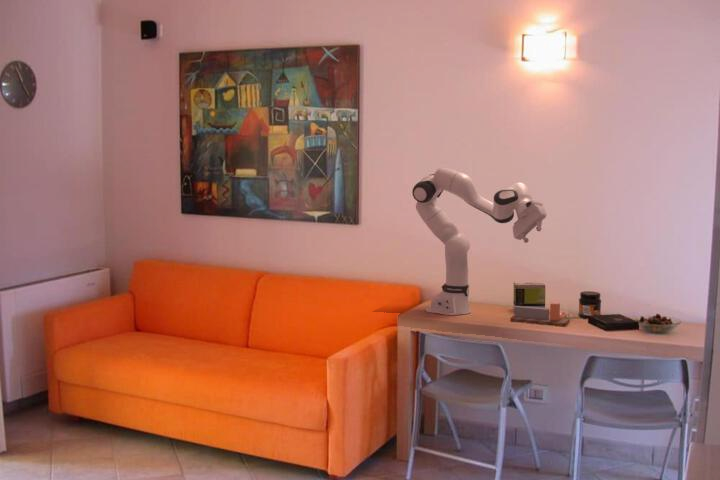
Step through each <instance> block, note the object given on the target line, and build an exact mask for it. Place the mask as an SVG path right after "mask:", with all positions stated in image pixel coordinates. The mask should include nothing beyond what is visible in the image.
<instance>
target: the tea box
mask: <svg viewBox="0 0 720 480" xmlns="http://www.w3.org/2000/svg"><path fill="white" fill-rule="evenodd" d="M512 302H513V310H514V311H515V306H524V307H535V308H546V284H545V283H544V282H543V281H513V301H512Z"/></svg>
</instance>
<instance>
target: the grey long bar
mask: <svg viewBox="0 0 720 480" xmlns="http://www.w3.org/2000/svg"><path fill="white" fill-rule="evenodd" d="M514 315H515V317H521V318H532V319H542V320H548V319H549V317H550V308H546V307H545V308H535V307H524V306H515V310H514Z"/></svg>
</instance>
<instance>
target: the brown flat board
mask: <svg viewBox="0 0 720 480" xmlns="http://www.w3.org/2000/svg"><path fill="white" fill-rule="evenodd" d="M510 322H512V323H513V322H515V323H523V322H526V324H533V323H536V324H535V325H543V324H547V325H546V326H553V325H559V326H558V327H564V326H567V325H568V324H569V323H570V318H560V317H559V321H555V320H550V319H548V320H542V319H532V318H521V317H515V314H514V315H512V316H511V317H510Z"/></svg>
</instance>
